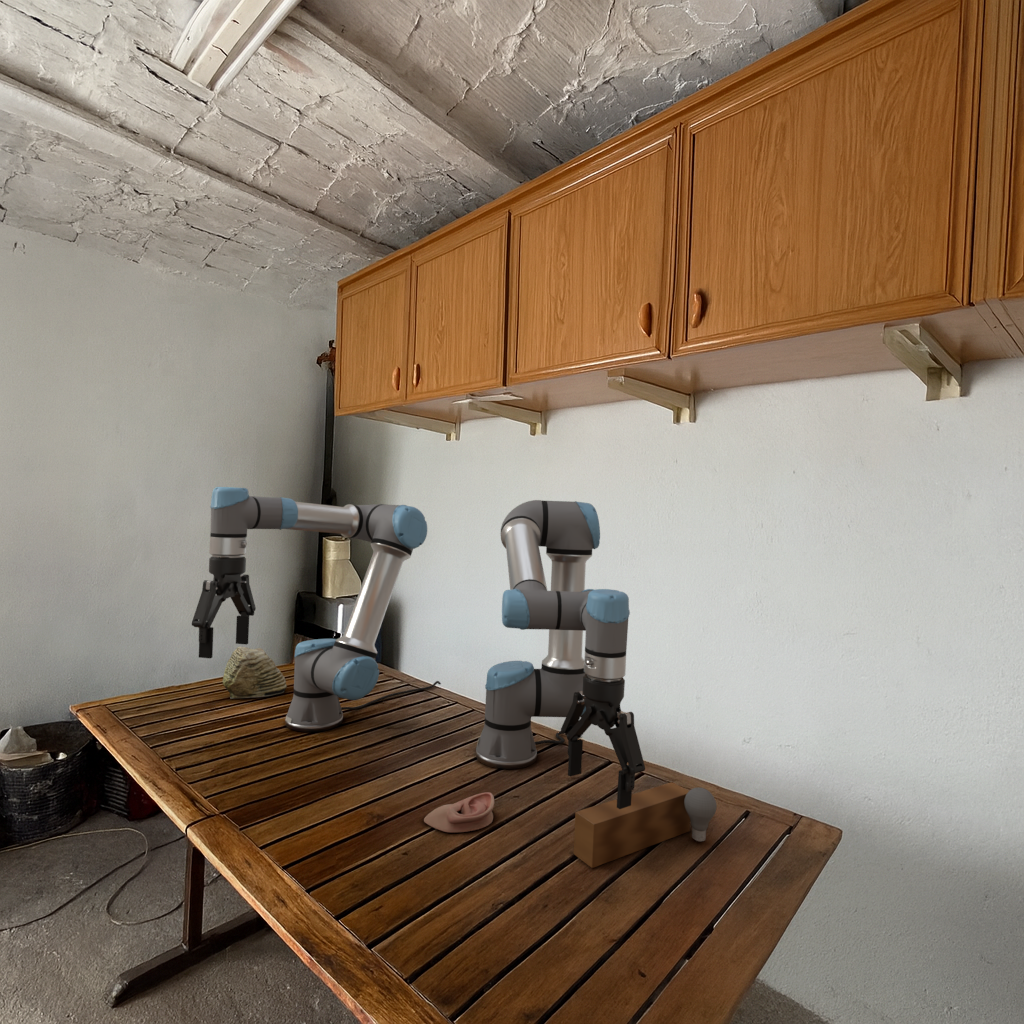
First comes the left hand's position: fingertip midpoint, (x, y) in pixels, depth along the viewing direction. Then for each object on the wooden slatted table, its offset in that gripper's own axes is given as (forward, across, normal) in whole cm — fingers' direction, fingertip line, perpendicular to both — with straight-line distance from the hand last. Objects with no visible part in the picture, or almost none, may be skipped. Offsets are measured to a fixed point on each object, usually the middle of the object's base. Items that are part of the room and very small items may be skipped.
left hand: (224, 650), depth 142 cm
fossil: (+28, +53, +23) cm, 64 cm away
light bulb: (+28, -4, -104) cm, 108 cm away
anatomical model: (+28, -7, -57) cm, 64 cm away
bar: (+28, -8, -91) cm, 96 cm away
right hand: (+16, -14, -84) cm, 87 cm away
